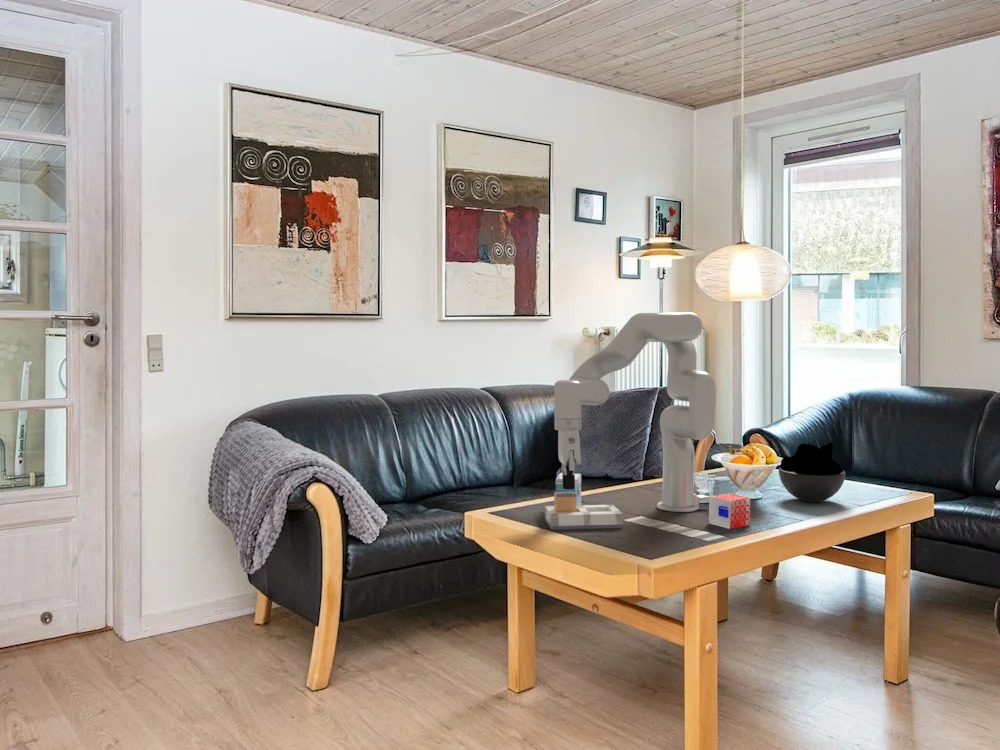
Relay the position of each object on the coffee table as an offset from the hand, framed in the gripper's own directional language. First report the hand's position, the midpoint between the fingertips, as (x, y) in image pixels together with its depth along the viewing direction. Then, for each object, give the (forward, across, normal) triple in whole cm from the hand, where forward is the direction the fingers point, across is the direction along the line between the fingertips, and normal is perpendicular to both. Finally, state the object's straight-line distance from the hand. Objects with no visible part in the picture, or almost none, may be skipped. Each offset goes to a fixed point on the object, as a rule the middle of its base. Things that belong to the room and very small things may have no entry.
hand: (568, 488), depth 246 cm
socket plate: (+10, 0, -4) cm, 11 cm away
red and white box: (+11, -5, -45) cm, 47 cm away
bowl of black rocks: (+12, +22, -82) cm, 86 cm away
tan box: (+9, 0, +1) cm, 9 cm away
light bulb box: (+11, +17, -3) cm, 20 cm away
